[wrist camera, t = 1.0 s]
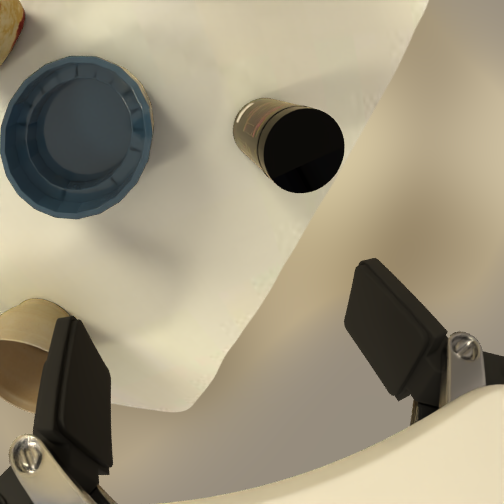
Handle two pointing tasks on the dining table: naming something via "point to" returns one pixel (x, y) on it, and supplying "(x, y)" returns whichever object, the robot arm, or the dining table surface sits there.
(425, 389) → the robot arm
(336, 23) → the dining table surface
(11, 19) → the food model
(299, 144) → the supplement container
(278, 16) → the dining table surface
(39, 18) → the dining table surface
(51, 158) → the basin
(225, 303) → the dining table surface
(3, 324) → the planter bowl
